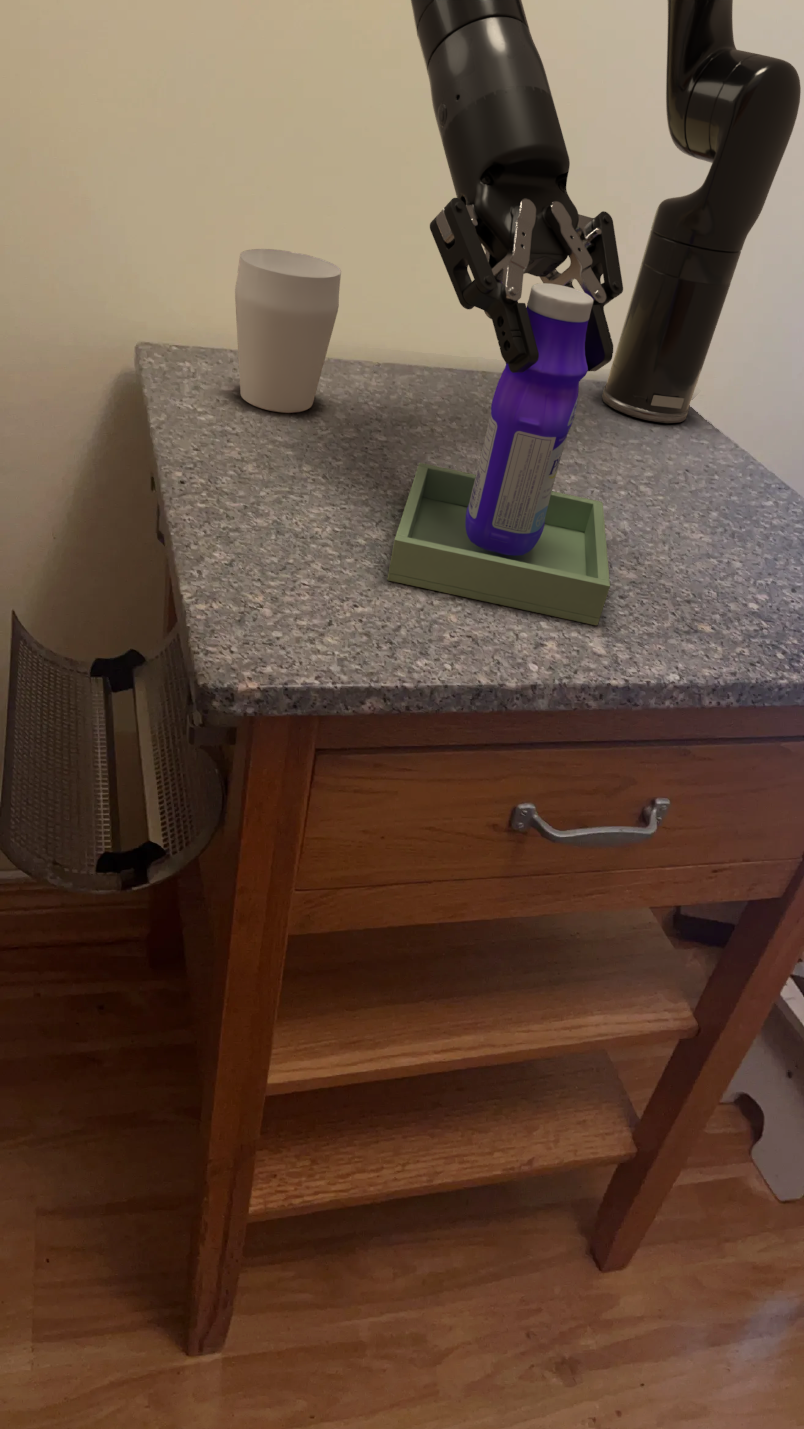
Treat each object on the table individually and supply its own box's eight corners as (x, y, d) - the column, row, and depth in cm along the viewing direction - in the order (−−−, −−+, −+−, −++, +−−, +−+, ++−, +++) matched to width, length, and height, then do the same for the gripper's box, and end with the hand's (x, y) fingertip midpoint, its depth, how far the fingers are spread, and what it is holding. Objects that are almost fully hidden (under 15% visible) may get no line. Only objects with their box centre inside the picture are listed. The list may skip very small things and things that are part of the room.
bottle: (533, 569, 72) (605, 314, 62) (454, 549, 73) (514, 292, 63) (542, 528, 78) (609, 290, 68) (469, 510, 79) (525, 270, 69)
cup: (344, 406, 97) (363, 272, 90) (285, 426, 90) (301, 283, 83) (268, 376, 100) (281, 245, 93) (206, 393, 93) (215, 253, 87)
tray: (412, 498, 82) (419, 462, 80) (592, 537, 82) (603, 501, 80) (386, 580, 70) (394, 539, 68) (597, 626, 70) (610, 586, 68)
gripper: (438, 65, 61) (511, 339, 60) (615, 96, 68) (682, 339, 67) (376, 147, 67) (442, 395, 66) (544, 166, 74) (605, 389, 74)
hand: (563, 366), depth 67 cm, fingers closed on bottle, 5 cm apart
